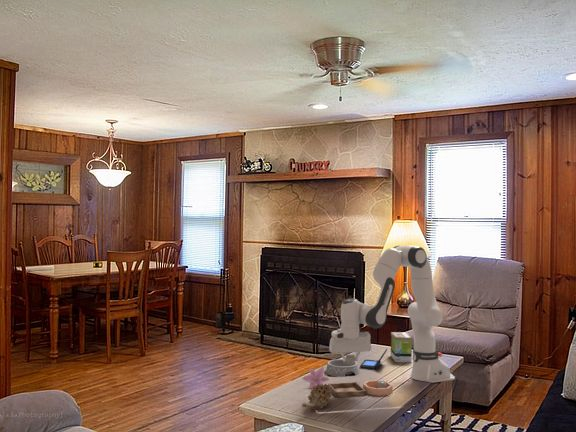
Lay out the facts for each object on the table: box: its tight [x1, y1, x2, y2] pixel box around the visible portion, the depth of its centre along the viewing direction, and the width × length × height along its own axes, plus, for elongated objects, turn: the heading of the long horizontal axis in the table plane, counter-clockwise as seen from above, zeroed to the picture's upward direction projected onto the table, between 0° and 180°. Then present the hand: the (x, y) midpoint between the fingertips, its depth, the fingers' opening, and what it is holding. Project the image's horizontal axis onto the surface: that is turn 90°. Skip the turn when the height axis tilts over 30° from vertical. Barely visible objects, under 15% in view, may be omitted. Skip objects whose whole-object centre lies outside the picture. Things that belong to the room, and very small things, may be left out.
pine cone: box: [301, 383, 333, 410], centre depth 228 cm, size 22×10×10 cm, turn 153°
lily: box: [301, 366, 330, 389], centre depth 258 cm, size 12×12×10 cm
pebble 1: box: [345, 353, 356, 365], centre depth 253 cm, size 4×4×4 cm
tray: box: [327, 381, 367, 398], centre depth 250 cm, size 15×14×3 cm
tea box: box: [390, 331, 413, 363], centre depth 313 cm, size 15×10×15 cm
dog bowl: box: [325, 358, 360, 378], centre depth 285 cm, size 17×18×5 cm
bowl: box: [362, 379, 394, 397], centre depth 251 cm, size 13×13×4 cm
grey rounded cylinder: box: [378, 380, 387, 388], centre depth 252 cm, size 4×4×4 cm
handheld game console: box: [359, 348, 388, 371], centre depth 298 cm, size 16×13×9 cm
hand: (350, 361), depth 253 cm, fingers closed on pebble 1, 4 cm apart
